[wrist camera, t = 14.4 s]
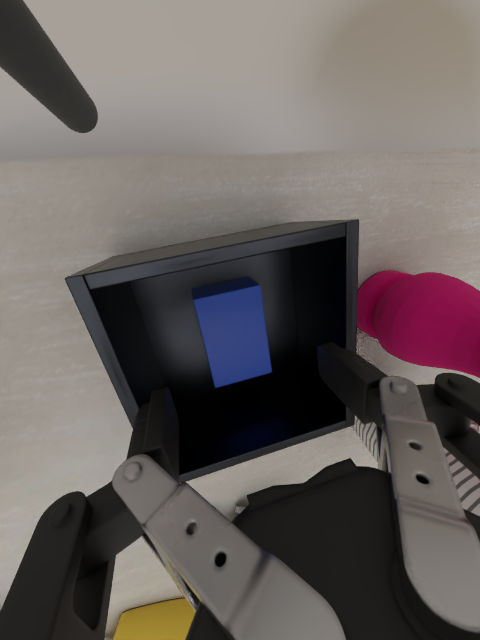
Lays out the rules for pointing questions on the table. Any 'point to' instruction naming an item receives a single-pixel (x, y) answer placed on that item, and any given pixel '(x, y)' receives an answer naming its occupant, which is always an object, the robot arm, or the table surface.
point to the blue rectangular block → (233, 330)
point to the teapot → (156, 621)
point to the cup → (470, 489)
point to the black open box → (188, 347)
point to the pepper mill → (423, 319)
